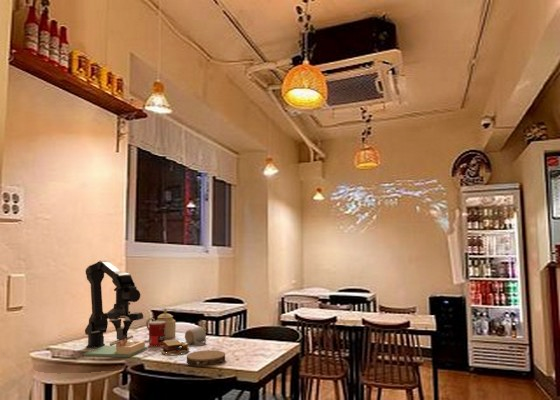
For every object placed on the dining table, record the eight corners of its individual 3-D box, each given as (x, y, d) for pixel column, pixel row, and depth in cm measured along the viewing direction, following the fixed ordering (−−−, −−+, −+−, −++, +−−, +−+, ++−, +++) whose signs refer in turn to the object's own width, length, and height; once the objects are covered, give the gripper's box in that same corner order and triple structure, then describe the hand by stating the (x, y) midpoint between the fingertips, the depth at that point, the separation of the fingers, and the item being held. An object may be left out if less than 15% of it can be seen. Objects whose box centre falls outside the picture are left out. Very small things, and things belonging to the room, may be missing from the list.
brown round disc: (233, 361, 188) (233, 353, 189) (203, 369, 176) (203, 361, 177) (208, 355, 199) (208, 348, 199) (179, 362, 187) (179, 355, 187)
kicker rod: (107, 353, 199) (108, 330, 200) (128, 345, 215) (129, 324, 216) (113, 353, 198) (114, 331, 199) (134, 345, 214) (134, 324, 215)
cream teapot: (160, 341, 231) (160, 311, 232) (144, 339, 236) (145, 310, 238) (179, 335, 244) (179, 307, 246) (164, 334, 249) (164, 306, 251)
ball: (130, 340, 204) (132, 349, 203) (135, 338, 208) (137, 347, 207) (121, 343, 204) (124, 352, 204) (127, 341, 209) (129, 350, 208)
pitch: (84, 355, 202) (84, 346, 202) (105, 347, 217) (105, 339, 218) (128, 357, 197) (128, 347, 197) (146, 349, 212) (146, 340, 213)
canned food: (161, 346, 217) (161, 323, 219) (145, 346, 219) (146, 323, 220) (168, 343, 225) (168, 320, 226) (153, 342, 227) (153, 320, 228)
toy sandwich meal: (165, 357, 197) (165, 346, 197) (158, 351, 208) (158, 340, 209) (192, 353, 202) (192, 343, 203) (184, 348, 214) (184, 338, 215)
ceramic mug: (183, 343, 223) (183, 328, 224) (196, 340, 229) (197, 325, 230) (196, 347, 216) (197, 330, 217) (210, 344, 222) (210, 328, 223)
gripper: (93, 302, 203) (93, 338, 201) (130, 303, 199) (130, 339, 197) (108, 300, 214) (108, 333, 212) (143, 300, 210) (143, 334, 208)
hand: (121, 335), depth 207 cm, fingers closed on kicker rod, 3 cm apart
